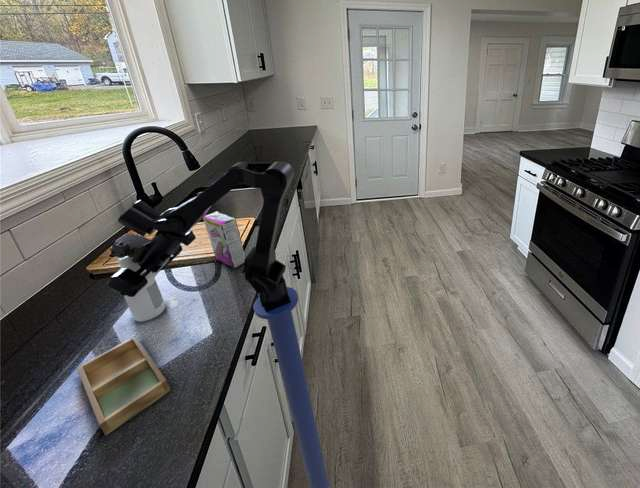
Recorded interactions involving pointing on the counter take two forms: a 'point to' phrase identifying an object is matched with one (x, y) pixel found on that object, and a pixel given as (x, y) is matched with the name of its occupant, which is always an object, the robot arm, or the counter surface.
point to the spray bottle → (143, 295)
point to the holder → (122, 383)
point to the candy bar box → (225, 239)
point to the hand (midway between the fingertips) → (133, 285)
